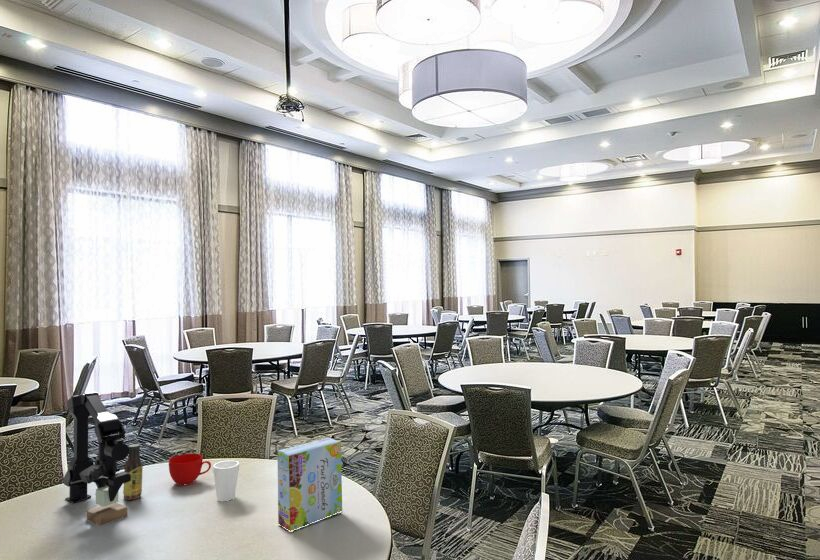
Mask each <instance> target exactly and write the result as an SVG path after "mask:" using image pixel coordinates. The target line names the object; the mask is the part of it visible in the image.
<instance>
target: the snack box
mask: <svg viewBox="0 0 820 560" xmlns="http://www.w3.org/2000/svg"><path fill="white" fill-rule="evenodd" d="M342 480H343V479H342V442H341V441H340V440H337V439H334V438H332V437H326V438H322V439H318V440H315V441H310V442H306V443H301V444H299V445H295V446H291V447H287V448H282V449H278V450H277V510H278V511H277V513H278V519H277V520H278V521H277V523H278V524H280V525H281V526H283V527H285V528H286V529H288V530H290V531H291V530H294V529H297V528H299V527H302V526H305V525H307V524H310V523H312V522H315V521H317V520H320V519H323V518H325V517H327V516H330V515H333V514H335V513H337V512H340V511H342V512H343V489H342V488H343V487H342V486H343V484H342V483H343V481H342Z"/></svg>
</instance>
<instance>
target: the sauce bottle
mask: <svg viewBox="0 0 820 560" xmlns="http://www.w3.org/2000/svg"><path fill="white" fill-rule="evenodd" d="M127 446H128V447H129V454H128V456H127V457H128V458H127V460H126V462H125V463H124V471H123V472H126V473H129V474H130V475H131V481H129V482H126V483H123V490H122V491H123V493H122V494H123V499H124V501H133V500H136V499H139V498H140V497H141V496H142V492H143V469H144V468H143V463H142V460H141V456H140V450H141V444H139V443H134V444H129V445H127Z"/></svg>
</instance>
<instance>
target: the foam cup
mask: <svg viewBox="0 0 820 560" xmlns="http://www.w3.org/2000/svg"><path fill="white" fill-rule="evenodd" d="M212 468H213V469H212V472H213V476H214V477H213V478H214V483H215V484H214V485H215V491H216V493H215V494H216V499H217V501H218V502H219V501H221V502H220V503H224V502H223V501H227V502H230V501H229V500H231V499H233V498H234V497H235V498H236V490H237V484H238V477H239V476H238V475H239V471H240V462H239V461H237V460H232V459H231V460H230V459H229V460H222V461H218V462H216V463H214V464H213V465H212ZM235 498H234V499H235ZM234 499H233V500H234ZM231 501H232V500H231Z"/></svg>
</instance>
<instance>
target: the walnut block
mask: <svg viewBox="0 0 820 560" xmlns="http://www.w3.org/2000/svg"><path fill="white" fill-rule="evenodd" d="M127 516H128V506H127V505H123V504H120V503H118V502H116V503H113V504H110V505H108V506H105V507H103V506H100V505H98V506H96V507H93V508H91V509H88V510H86V521H87V522H91V523H93V524H96V525H98V526H101V527H102V526H105V525H108V524H109V523H112V522H115V521H117V520H120V519H123V518H125V517H127Z"/></svg>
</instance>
